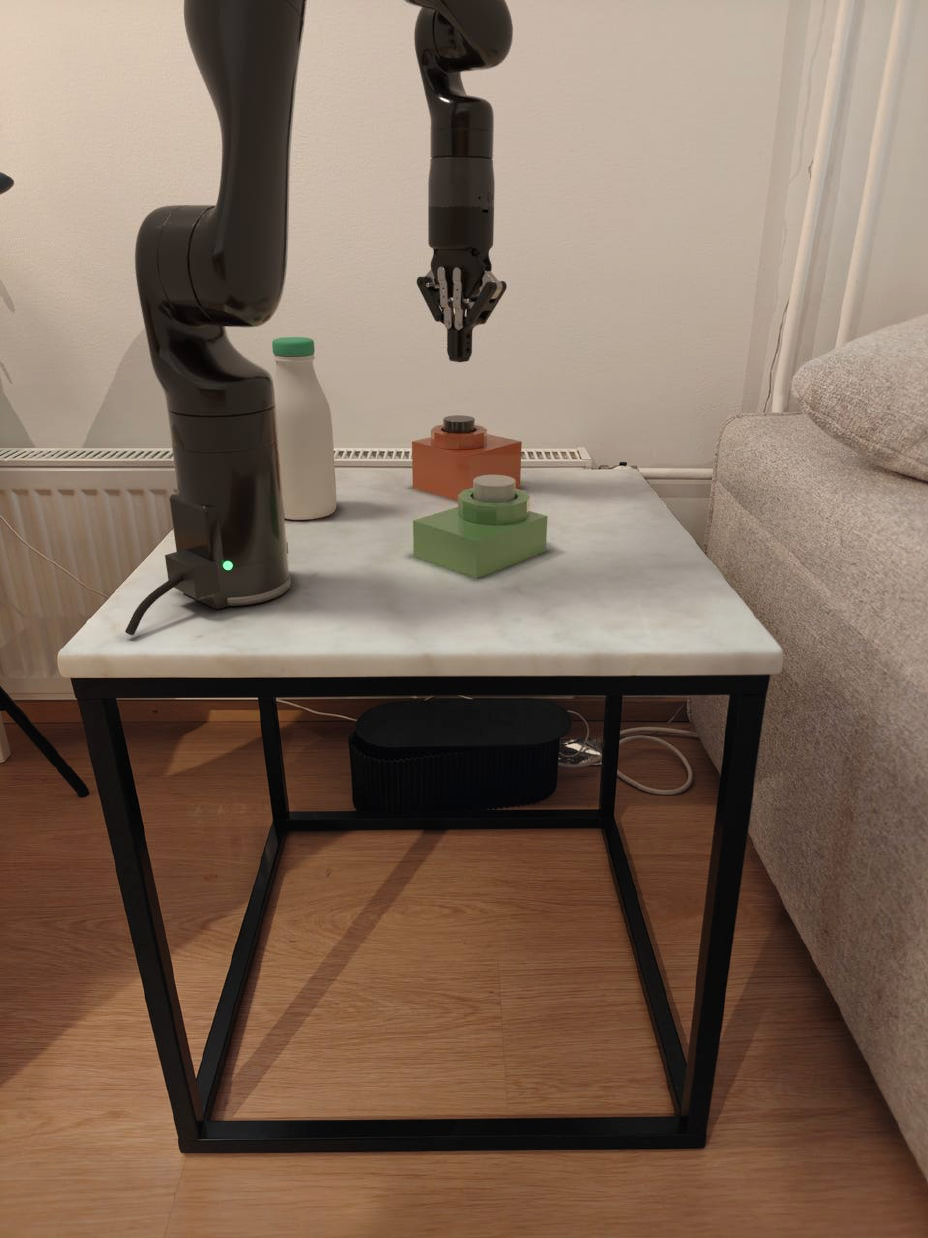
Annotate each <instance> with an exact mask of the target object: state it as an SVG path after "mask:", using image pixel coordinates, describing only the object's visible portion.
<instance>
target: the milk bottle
mask: <svg viewBox="0 0 928 1238" xmlns="http://www.w3.org/2000/svg"><path fill="white" fill-rule="evenodd" d="M271 346H272V347H271V348H272V354H273V358H272V359H273V361H275V372H274V378H273V383H274V392H275V405H276V418H277V430H278V444H279V456H280V469H281V481H282V493H283V505H284V518H285V519H287V520H294V521H295V520H297V521H302V520H316V519H322V518H324V517H328V516H330V515H332V514H334V512H335V511H336V509H337V485H336V484H337V483H336V466H335V463H336V462H335V448H334V431H333V420H332V414H331V412H332V411H331V408H330V404H329V401H328V398H327V396H326V394H325V392H324V390H323V388H322V385H321V384H320V381H319V379H318V377H317V374H316V371H315V368H314V367H315V366H314V360H315V359H316V357H315V341H314V339H312V338H310V337H303V336H286V337H277V338H275V339H272V343H271Z"/></svg>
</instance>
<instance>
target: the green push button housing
mask: <svg viewBox="0 0 928 1238" xmlns="http://www.w3.org/2000/svg"><path fill="white" fill-rule="evenodd" d="M530 504H531V495H530V494H528V493H527V492H526V491H524V490H522V489H520V488H518V489H515V500H512V501H509V502H501V503H490V502H481V501H478V500H474V499H473V488H470V489H467V490H463V491H462V492H461V493H460V494H459V495H458V501H457V506H455V507H451V508H449V509H446V510H442V511H439V512H436V513H433V514H430V515H427V516H423V517H419V518H417V519H414V520H412V535H413V536H412V541H413V542H412V544H413V547H412V548H413V557H414V558H417V559H420V560H423V561H426V562H429V563H431V564H434V565H437V566H439V567H442V568H445V569H448V570H450V571H453V572H456V573H459V574H462V575H465V576H468V577H471V578H473V579H476V580H477V579H479V578H482V577H485V576H487V575H489V574H492V573H495V572H498V571H500V570H502V569H505V568H508V567H510V566H512V565H515V564H517V563H520V562H523V561H525V560H528V559H531V558H533V557H536V556H538V555H540V554H543V553H545V552H546V551H547V537H548V536H547V535H548V518H549V517H548V515H545V514H541V513H538V512H534V511H532V510H530V508H531V507H530Z"/></svg>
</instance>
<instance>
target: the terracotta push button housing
mask: <svg viewBox="0 0 928 1238" xmlns="http://www.w3.org/2000/svg"><path fill="white" fill-rule="evenodd" d="M522 443H523V442H522V441H521V440H517V439H511V438H508V437H507V438H506V437H502V436H497V435H495V434H494V435H493V434H488V429H487V428H486V427H484V426H482V425H480V424H479V425H478V424H475V432H471V433H461V434H459V433H448V432H443V424H439V425H435V426H433V427H432V428H431V429H430V437H425V438H422V439H416V440H412V441H411V465H412V467H411V468H412V470H411V472H412V473H411V474H412V489H415V490H418V491H422V492H425V493H428V494H432V495H435V496H439V497H443V498H446V499H450V500H453V501H455V502H458V495H459V494H460V493H461V492H462V491H463V490H467V489H470V488H473V480H474V478H476V477H479V476H483V475H504V476H509V477H512V478H514V479H515V481H516V485H515V489H520V488H521V475H522V473H521V472H522V447H523V445H522Z"/></svg>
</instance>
